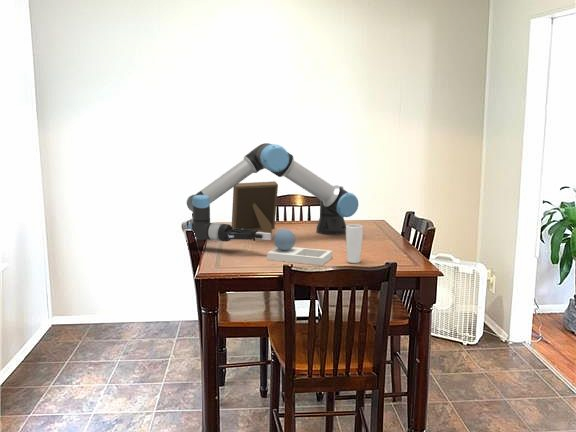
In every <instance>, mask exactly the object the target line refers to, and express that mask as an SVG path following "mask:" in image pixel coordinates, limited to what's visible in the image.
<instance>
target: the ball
mask: <svg viewBox="0 0 576 432" xmlns="http://www.w3.org/2000/svg"><path fill="white" fill-rule="evenodd" d="M273 242H274V245H275V248H278V249H280V250H283V251H286V250H289V249H291V248H292V247H295V244H296V243H295V242H296V237H295V234H294V232H292V230H290V229H287V228H281V229H279V230H278V231H277V232H276V233H275V234H274V238H273Z"/></svg>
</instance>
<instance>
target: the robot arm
mask: <svg viewBox="0 0 576 432" xmlns="http://www.w3.org/2000/svg"><path fill="white" fill-rule="evenodd" d="M264 169H266V170H267V171H269V172H271V173H272V174H273V175H275V176H277V177H278V178H281V177H284V178H286V179H287V180H289V181H290V182H292V183H294V184H296V186H299V187H300V188H302V189H303V190H304V191H306V192H308V193H309V194H311V195H312V196H313V197H315V198H317V199H318V200H319V219H318V221H317V225H316V232H317V234H322V235H341V234H346V226H347V225H346V222H345V218H350V217H352V216H353V215H355V214H356V212H357V211H358V209H359V199H358V197H357V196H356V195H355V194H354V193H353V192H349V191H347V190H345V188H344V186H341V185H332V184H330V183H329V182H327V181H326V180H324V179H323V178H321V177H320V176H318V175H317V174H315V173H314V172H313V171H311V170H309V169H308V168H307V167H305V166H303V165H302V164H300V163H299V162H298V161H296V160H295V159H294V155H292V154H291V153H290V152H288V151H287V150H286V149H285V148H284V147H283V146H282V145H279V144H275V143H274V144H273V143H261V144H259V145H258V146H256V147H255V148H254V149H251V151H249V152H248V153H246V155H244V156H243V160H241V161H240V162H237V164H236V165H234V166H232V168H230V169H229V170H227V171H226V172H225V173H223V174H222V175H219V176H218V178H216V179H214V180H213V181H212V182H211V183H209V184H208V185H207V186H205V187H204V188H202V189H201V190H200V191H198V192H197V193H196V194H191V195H189V196H188V197H187V199H186V206H187V208H188V210H189V211H191V212H192V221H190V222H189V223H188V226H187V230H188V229H191V230H193V231H194V233H195V237H196V238H195V239H197V240H210V241H214V242H217V241H218V242H219V241H221V242H230V241H231V240H247V241H248V240H250V241H252V240H253V241H256V240H265V241H271V240H272V234H271V233H263V232H261V231H259V230H249V229H244V228H241V229H238V228H234V229H232V224H229V223H228V224H227V223H220V222H219V223H217V222H211V206H210V205H211V204H212V203H214V202H215V201H217V199H219V198H220V197H221V196H223V195H224V194H226V193H227V192H229V191H230V190H231V189H233V187H234V186H235V185H237V184H238V183H242V181H244V180H245V179H246V178H248V177H249V176H250V175H252V174H257V173H258V172H260V171H262V170H264Z"/></svg>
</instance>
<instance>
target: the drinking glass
mask: <svg viewBox="0 0 576 432" xmlns="http://www.w3.org/2000/svg"><path fill="white" fill-rule="evenodd" d="M363 229H364V227H363V225H361V224H355V223H354V224H347V225H346V233H345V245H346V260H347V263H350V264H359V263H360V262H361V256H362V255H361V254H362V246H363V245H362V243H363V233H364V232H363V231H364V230H363Z"/></svg>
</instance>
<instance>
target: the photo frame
mask: <svg viewBox="0 0 576 432" xmlns="http://www.w3.org/2000/svg"><path fill="white" fill-rule="evenodd" d="M278 188H279V185H278V183H277V181H259V182H258V181H257V182H240V183H238V184H237V185H235V186H234V187H233V188H232V189H233V191H232V192H233V193H232V211H231V213H232V215H231V226H232V229H234V228H238V229H241V228H244V229H249V230H258V231H262V232H263V233H271V235H272V234H273V232H272V231H273V230H274V229H275V225H276V214H277V200H278Z"/></svg>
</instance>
